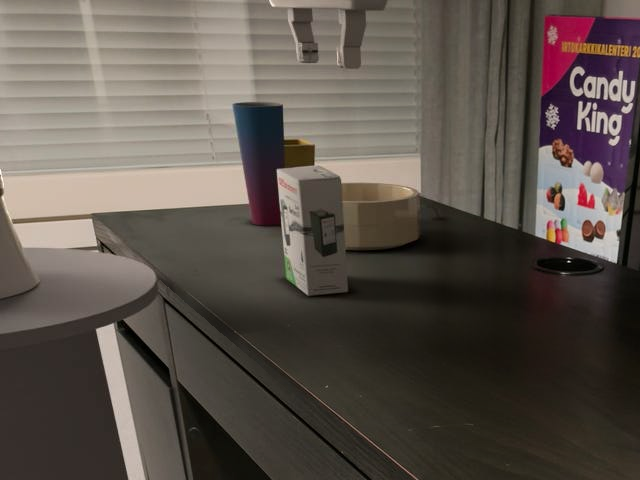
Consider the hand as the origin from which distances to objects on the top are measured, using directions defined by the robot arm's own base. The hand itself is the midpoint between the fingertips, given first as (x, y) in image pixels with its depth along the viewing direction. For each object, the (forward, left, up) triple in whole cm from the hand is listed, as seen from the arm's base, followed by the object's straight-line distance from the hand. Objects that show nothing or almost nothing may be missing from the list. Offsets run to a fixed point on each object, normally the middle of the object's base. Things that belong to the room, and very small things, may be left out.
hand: (328, 65), depth 91 cm
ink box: (-3, +2, -22) cm, 22 cm away
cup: (-7, +40, -22) cm, 46 cm away
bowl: (+5, +26, -22) cm, 34 cm away
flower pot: (-4, +53, -22) cm, 58 cm away
